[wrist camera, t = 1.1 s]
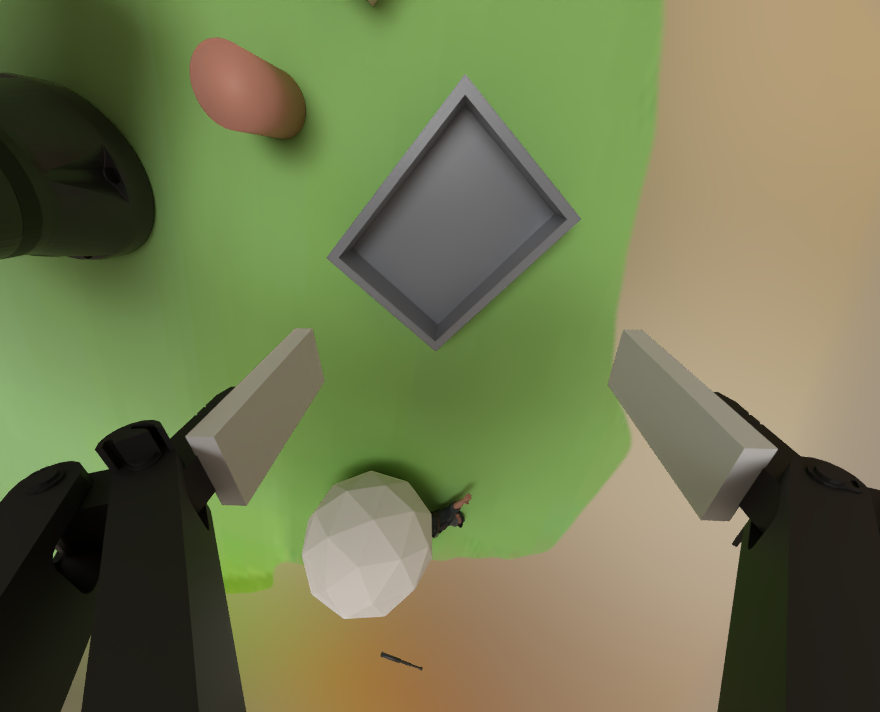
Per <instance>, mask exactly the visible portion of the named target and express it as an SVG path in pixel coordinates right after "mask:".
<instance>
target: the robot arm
mask: <svg viewBox="0 0 880 712" xmlns="http://www.w3.org/2000/svg"><path fill="white" fill-rule="evenodd" d="M153 220H154V203H153V196H152V192H151V188H150V184H149V181H148V179H147V176H146V174H145V171H144V169H143V167H142V165H141V163H140V161H139V159H138V157H137V156H136V154H135V152H134V151H133V149H132V148H131V146H130V145H129V143H128V142H127V140H126V139H125V138H124V136H123V135H122V134H121V133H120V131H119V130H118V129H117V128H116V127H115V126H114V125H113V124H112V123H111V122H110V121H109V119H108V118H106V117H105V116H104V115H103V114H102V113H101V112H100V111H99V110H98V109H97V108H95V107H94V106H93V105H92V104H90V103H89V102H88V101H86V100H85V99H83V98H82V97H80V96H79V95H77V94H75V93H74V92H72V91H70V90H68V89H66V88H64V87H62V86H60V85H57V84H55V83H52V82H49V81H45V80H41V79H36V78H32V77H27V76H22V75H18V74H12V73H0V259H5V258H11V257H16V256H21V255H33V256H50V257H60V256H68V257H72V258H77V259H87V260H99V259H107V258H111V257H116V256H120V255H124V254H127V253H130V252H132V251H134V250H136V249H137V248H139V247H140V246H141V245H142V244H143V243H144V242H145V241H146V239H147V238H148V236H149V234H150V232H151V229H152V225H153ZM323 383H324V377H323V372H322V368H321V364H320V359H319V355H318V351H317V346H316V342H315V338H314V333H313V329H312V328H295V329H294V330H293V331H292V332H291V333H290V334H289V335H288V336H287V337H286V338H285V339H284V340H283V341H282V342H281V343H280V344H279V345H278V346H277V347H276V348H275V349H274V350H273V351H272V352H271V353H270V354H269V355H268V356H267V357H266V358H264V359H263V360H262V361H261V362H260V363H259V364H258V365H257V366H256V367H255V368H254V369H253V370H252V371H251V372H250V373H249V374H248V375H247V376H246V377H245V378H244V379H243V380H242V381H241V382H240V383H239V384H238V385H237V386H236V387H230V388H228V389H226V390H225V391H223V392H221V393H219V394H218V395H216V396H215V397H214V398H213V399H212V400H211V401H210V402H209V403H208V404H207V405H206V407H203V408H202V409H201V410H200V411H199V412H198V413H197V415H195V416H194V417H193V418H192V419H191V420H190V421H189V422H188V423H186V424H185V425H184V426H183V427H182V428H181V429H180V430H179V431H178V432H177V433H176V434H175V435H174V436H173V437H172V438H169V437H168V435H167V433H166V431H165V430H164V428H163V426H162V424H161V423H160V422H159V421H155V420H144V421H139V422H135V423H131V424H129V425H126V426H124V427H121V428H119V429H117V430H116V431H114V432H112V433H110V434H109V435H107V436H106V437H105V438H104V439H102V440H101V441H100V442H99V443H98V445H97V447H96V448H95V450H96V452H97V453H98V454H99V456H100V457H101V458H102V460H103V461H104V463H105V464H106V465H107V467H108V468H109V469H108V470H103V471H98V472H93V473H89V474H88V473H87V471H86V470H85V469H84V468H83V466H82V465H81V464H80V463H79V462H75V461H68V462H62V463H58V464H55V465H52V466H48V467H45V468H42V469H40V470H38V471H36V472H34V473H32V474H31V475H29V476H28V477H27V478H25V479H23V480H22V481H20V482H19V483H18V484H17V485H16V486H15V487H13V488H12V489H11V490H10V491H9V492H8V494H7V495H6V496H5V497H4V498H3V500H2V501H1V502H0V712H61V709H62V707H63V704H64V701H65V699H66V697H67V694H68V691H69V689H70V686H71V684H72V681H73V679H74V676H75V674H76V671H77V669H78V666H79V664H80V661H81V658H82V656H83V654H84V651H85V648H86V646H87V643H88V641H89V638H90V636H91V641H90V649H89V657H88V664H87V672H86V680H85V687H84V695H83V703H82V710H81V712H246V708H245V703H244V697H243V691H242V685H241V680H240V674H239V668H238V662H237V657H236V651H235V645H234V640H233V634H232V629H231V623H230V617H229V611H228V606H227V601H226V594H225V589H224V583H223V577H222V572H221V566H220V560H219V555H218V549H217V543H216V538H215V532H214V526H213V521H212V515H211V510H210V508H209V507H208V505H207V502H208V500H209V499H210V498H211V496H212V495H213V494H214V492H215V493H216V495H217V496H218V498H219V500H220V502H221V504H222V505H242V506H247V504H248V503H249V501H250V500H251V498H252V496H253V495H254V493H255V492H256V490H257V488H258V487H259V485H260V484H261V482H262V480H263V479H264V477H265V476H266V474H267V472H268V471H269V469H270V468H271V466H272V464H273V463H274V461H275V460H276V458H277V456H278V455H279V453H280V452H281V450H282V448H283V447H284V445H285V444H286V442H287V440H288V439H289V437H290V436H291V434H292V432H293V431H294V429H295V428H296V426H297V424H298V423H299V421H300V420H301V418H302V416H303V415H304V413H305V412H306V410H307V409H308V407H309V405H310V404H311V402H312V401H313V399H314V397H315V396H316V394H317V393H318V391H319V389H320V388H321V386H322V385H323ZM608 386H609V388H610V389H611V391H612V392H613V393H614V395H615V396H616V398H617V399H618V401H619V402H620V404H621V405H622V406H623V408H624V409H625V411H626V412H627V414H628V415H629V417H630V418H631V419H632V421H633V422H634V424H635V425H636V427H637V428H638V429H639V431H640V432H641V434H642V435H643V437H644V438H645V440H646V441H647V442H648V444H649V446H650V447H651V448H652V450H653V451H654V453H655V454H656V456H657V457H658V459H659V460H660V461H661V463H662V464H663V466H664V467H665V469H666V470H667V472H668V473H669V474H670V476H671V477H672V479H673V480H674V482H675V483H676V484H677V486H678V488H679V489H680V490H681V492H682V493H683V495H684V496H685V498H686V499H687V500H688V502H689V503H690V505H691V506H692V508H693V509H694V511H695V512H696V514H697V515H698V516H699V518H700V519H701V520H713V521H730V520H731V518H732V517H733V515H734V514H735V512H736V511H737V509H738V508H739V506H740V508H741V509H742V510H743V511H744V512H745V514H746V515H747V516H748V517H749V518H750V519H749V520H748V522H747V523H746V525H745V526H744V527H743V529H742V530H741V531H740V533H739V535H738V536H737V537H736V538H735V540H734V541H733V543H732V545H734V546H736V547H737V546H738V545H739V543H740V542H742V544H741V551H740V557H739V564H738V571H737V578H736V585H735V593H734V600H733V606H732V614H731V621H730V628H729V635H728V642H727V649H726V656H725V663H724V671H723V677H722V684H721V691H720V698H719V705H718V712H880V490H877V489H872V488H868V487H866V486H865V485H864V484H863V483H862V482H861V481H860V480H859V479H857V478H856V477H855V476H854V475H852V474H850V473H849V472H847V471H845V470H844V469H842V468H840V467H838V466H835V465H833V464H831V463H829V462H826V461H823V460H819V459H815V458H811V457H801V456H800V455H798V454H797V453H796V452H795V451H793V450H792V449H791V448H790V447H789V446H788V445H786V444H785V443H784V442H783V441H782V440H780V439H779V438H778V437H777V436H776V435H775V434H773V433H772V432H771V431H770V430H768V429H767V428H766V427H765V426H764V425H761V424H760V422H759V421H758V420H757V419H755V418H754V417H753V416H752V415H749V413H748V412H747V411H746V410H744V408H742V407H741V406H740V405H739V404H738V403H737V402H735V401H733V400H731V399H730V398H728V397H726V396H724V395H722V394H720V393H719V392H712V391H711V390H710V389H709V388H708V387H707V386H706V385H705V384H703V383H702V382H701V381H700V380H699V379H698V378H696V377H695V376H694V375H693V374H692V373H691V372H689V370H687V369H686V368H685V367H684V366H683V365H682V364H681V363H680V362H678V361H677V360H676V359H675V358H674V357H673V356H672V355H670V354H669V353H668V352H667V351H666V350H665V349H664V348H662V347H661V346H660V345H659V344H658V343H657V342H656V341H654V340H653V339H652V338H651V337H650V336H649V335H648V334H646V333H645V332H644V331H643V330H623V332H622V336H621V339H620V343H619V346H618V350H617V353H616V357H615V360H614V364H613V367H612V371H611V374H610V378H609V381H608ZM55 549H56V550H57V553H56V555H55V556H54V558H53V552H54V550H55ZM91 633H92V634H91Z"/></svg>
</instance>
